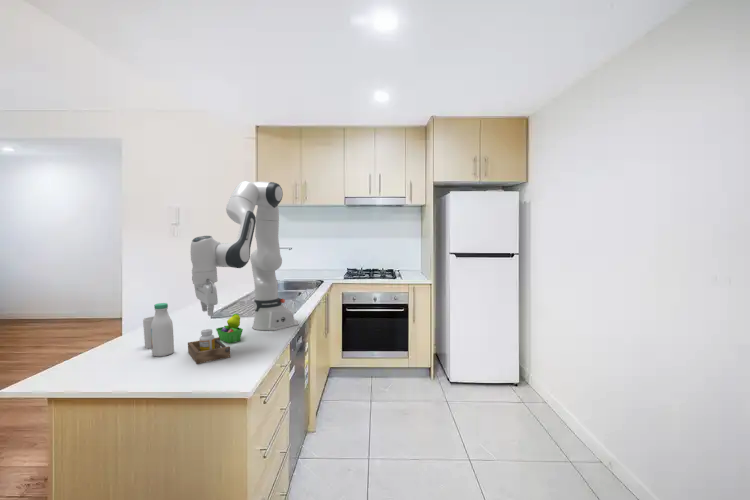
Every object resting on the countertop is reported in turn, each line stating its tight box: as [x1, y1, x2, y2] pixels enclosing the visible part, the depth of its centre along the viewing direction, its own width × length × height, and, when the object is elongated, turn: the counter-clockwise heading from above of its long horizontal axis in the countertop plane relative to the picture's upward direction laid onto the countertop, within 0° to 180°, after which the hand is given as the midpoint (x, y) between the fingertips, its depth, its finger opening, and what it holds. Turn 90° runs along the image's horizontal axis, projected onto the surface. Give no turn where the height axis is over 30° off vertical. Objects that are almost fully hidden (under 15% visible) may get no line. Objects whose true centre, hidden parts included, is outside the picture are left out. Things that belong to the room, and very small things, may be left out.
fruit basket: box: [215, 313, 244, 344], centre depth 172 cm, size 11×9×11 cm
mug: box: [142, 315, 155, 349], centre depth 166 cm, size 10×7×12 cm, turn 1°
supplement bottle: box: [199, 328, 216, 352], centre depth 152 cm, size 5×5×10 cm
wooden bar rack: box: [187, 336, 231, 365], centre depth 153 cm, size 12×18×4 cm
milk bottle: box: [151, 302, 175, 357], centre depth 154 cm, size 8×8×20 cm
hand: (207, 313), depth 152 cm, fingers open, 8 cm apart
